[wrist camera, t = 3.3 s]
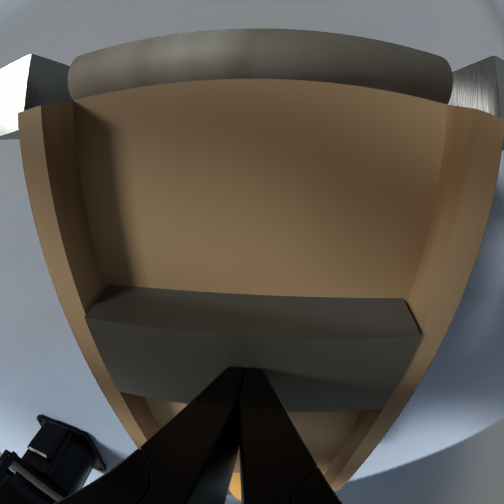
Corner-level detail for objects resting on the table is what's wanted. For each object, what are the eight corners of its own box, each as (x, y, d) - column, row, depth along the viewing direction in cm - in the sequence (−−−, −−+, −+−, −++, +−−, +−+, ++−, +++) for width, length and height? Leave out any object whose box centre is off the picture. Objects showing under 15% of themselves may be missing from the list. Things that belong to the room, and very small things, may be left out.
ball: (273, 501, 17) (275, 506, 15) (228, 498, 17) (222, 503, 15) (276, 462, 19) (279, 462, 17) (231, 459, 20) (227, 458, 17)
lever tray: (336, 456, 14) (338, 495, 12) (169, 446, 15) (160, 482, 13) (450, 66, 5) (515, 64, 3) (75, 63, 6) (7, 63, 4)
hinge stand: (409, 180, 13) (536, 212, 5) (122, 171, 14) (-11, 194, 6) (410, 82, 11) (524, 28, 3) (125, 76, 12) (5, 27, 4)
